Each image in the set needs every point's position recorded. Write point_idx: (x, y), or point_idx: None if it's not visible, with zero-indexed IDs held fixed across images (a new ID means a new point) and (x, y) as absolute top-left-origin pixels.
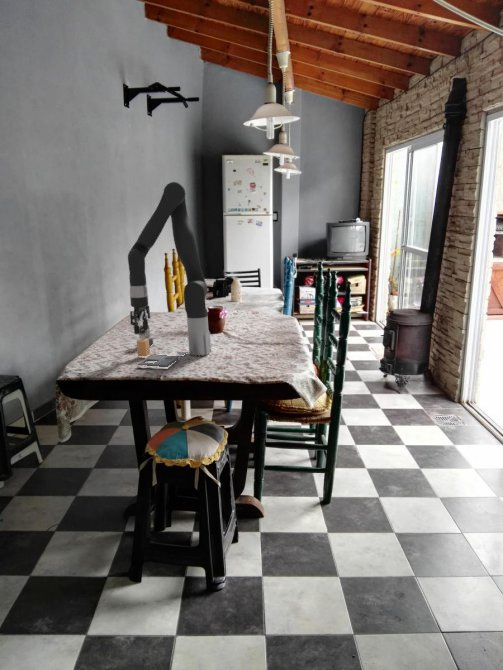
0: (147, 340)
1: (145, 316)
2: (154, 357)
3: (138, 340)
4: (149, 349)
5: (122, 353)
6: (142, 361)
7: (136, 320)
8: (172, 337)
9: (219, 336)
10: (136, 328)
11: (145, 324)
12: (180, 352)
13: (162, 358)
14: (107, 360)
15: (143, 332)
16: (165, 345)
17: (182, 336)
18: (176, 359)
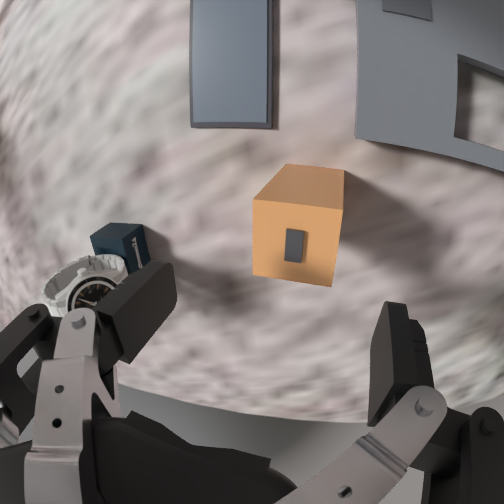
0: (287, 200)
1: (91, 392)
2: (416, 94)
3: (312, 277)
4: (280, 174)
5: (254, 322)
6: (495, 160)
7: (485, 476)
8: (29, 187)
9: (5, 32)
10: (428, 371)
11: (143, 310)
12: (207, 2)
13: (431, 35)
14: (365, 352)
15: (103, 292)
16: (97, 163)
17: (15, 156)
18: None
